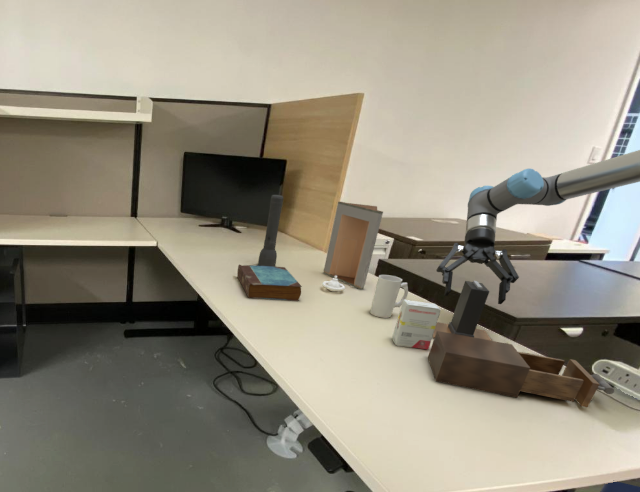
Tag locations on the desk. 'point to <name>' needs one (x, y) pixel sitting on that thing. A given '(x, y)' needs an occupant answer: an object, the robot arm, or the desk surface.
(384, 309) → the mug
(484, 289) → the dark grey upright block
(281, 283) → the book
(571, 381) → the drawer
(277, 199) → the flashlight
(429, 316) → the ink box
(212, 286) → the desk surface
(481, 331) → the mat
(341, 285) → the ring around a ball
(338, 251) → the cabinet
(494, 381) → the cabinet
